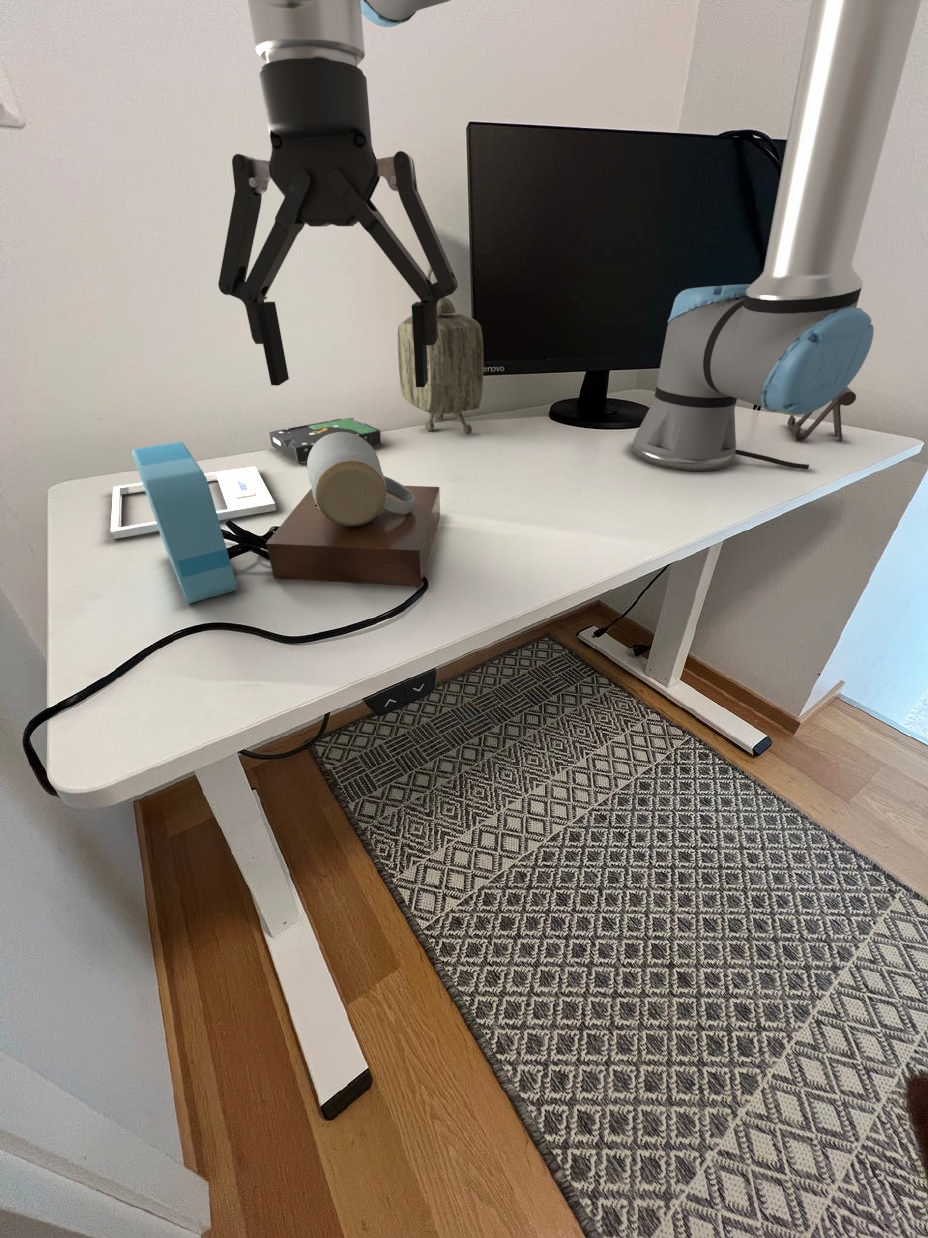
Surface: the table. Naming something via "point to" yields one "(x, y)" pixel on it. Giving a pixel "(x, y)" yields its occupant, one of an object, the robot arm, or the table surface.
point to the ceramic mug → (352, 481)
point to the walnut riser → (357, 544)
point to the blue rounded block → (186, 520)
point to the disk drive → (318, 436)
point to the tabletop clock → (445, 365)
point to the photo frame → (241, 498)
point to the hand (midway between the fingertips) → (350, 383)
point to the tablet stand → (843, 398)
